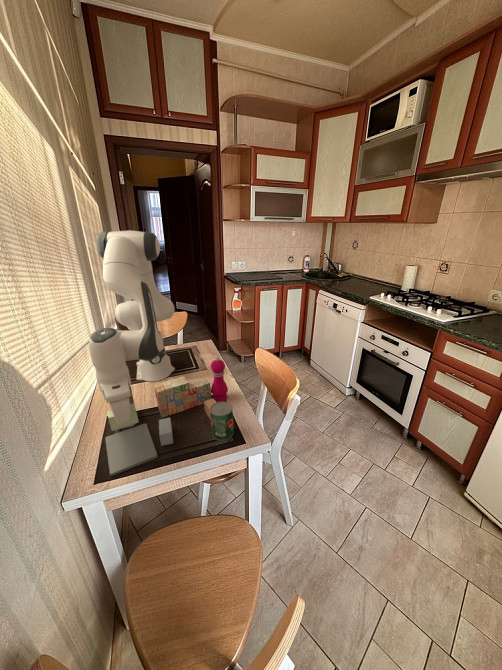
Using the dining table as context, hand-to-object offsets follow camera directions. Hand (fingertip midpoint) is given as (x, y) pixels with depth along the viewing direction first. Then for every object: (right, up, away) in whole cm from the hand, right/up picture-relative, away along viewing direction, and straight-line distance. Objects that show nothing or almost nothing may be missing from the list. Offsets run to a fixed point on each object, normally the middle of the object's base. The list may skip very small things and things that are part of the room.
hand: (123, 418), depth 88 cm
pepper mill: (+28, -1, +31) cm, 41 cm away
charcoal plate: (0, -12, +5) cm, 13 cm away
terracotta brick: (+26, -5, +20) cm, 34 cm away
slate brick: (+11, -10, +10) cm, 18 cm away
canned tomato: (+31, -9, +11) cm, 34 cm away
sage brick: (0, -2, +1) cm, 2 cm away
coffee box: (-7, -7, +18) cm, 21 cm away
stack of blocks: (+14, -3, +27) cm, 30 cm away
